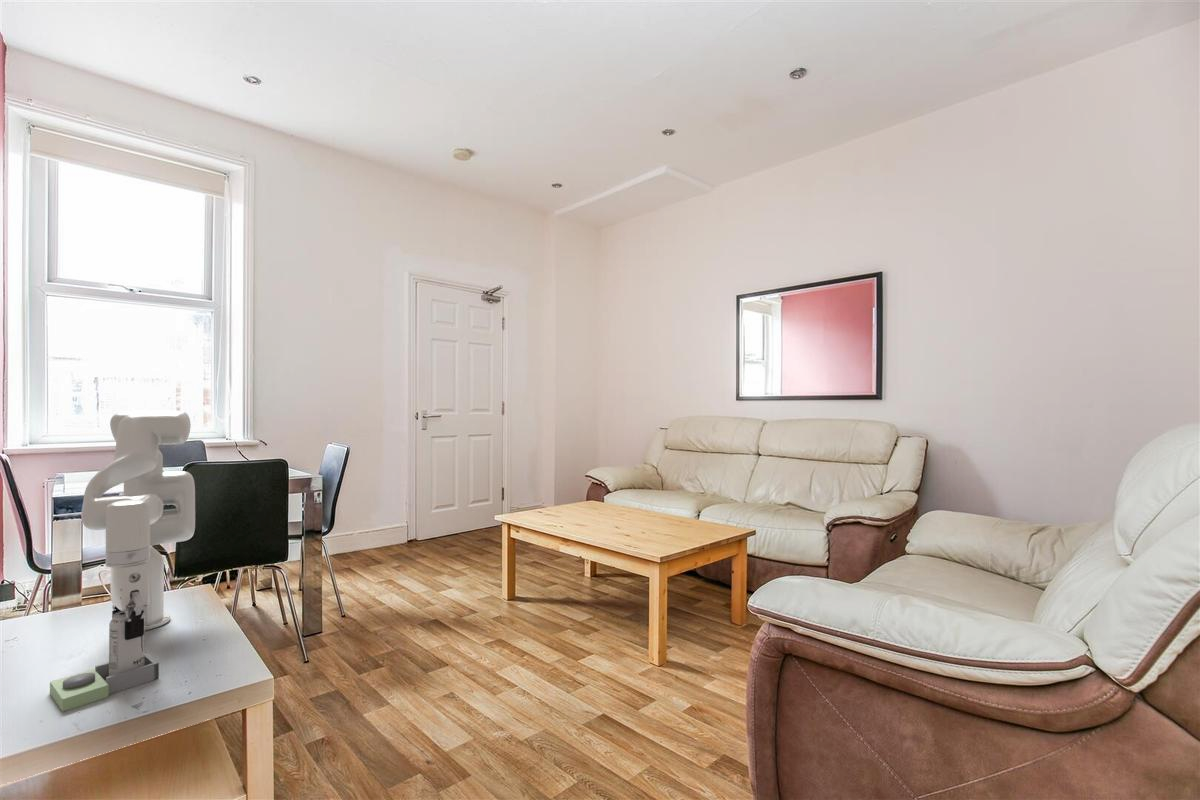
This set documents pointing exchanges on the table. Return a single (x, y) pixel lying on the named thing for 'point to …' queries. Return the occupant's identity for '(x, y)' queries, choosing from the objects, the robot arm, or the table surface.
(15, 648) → the table surface
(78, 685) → the grey open box
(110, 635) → the energy drink can
